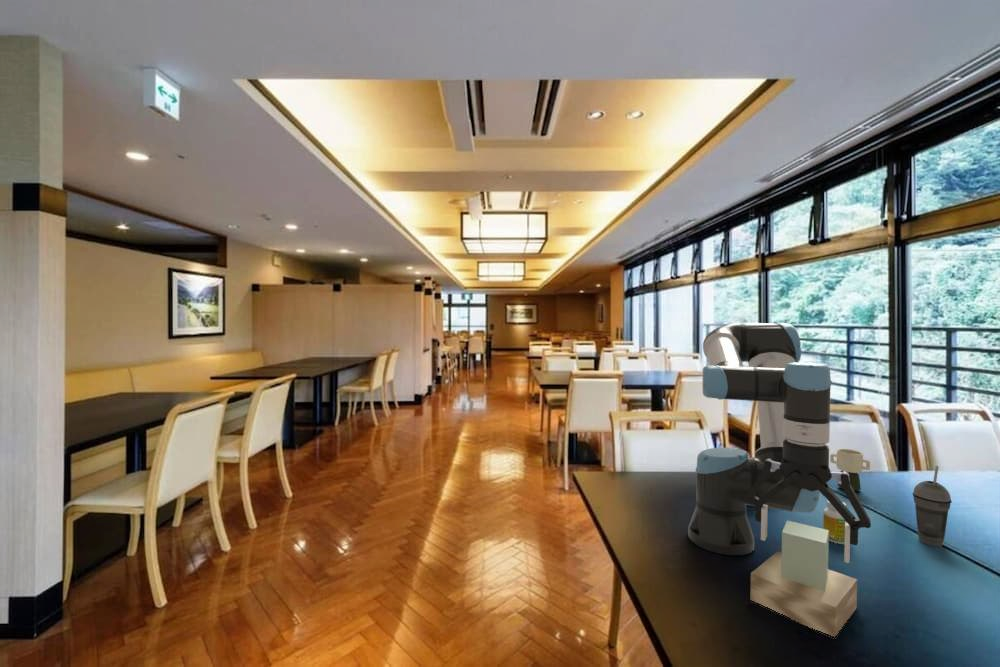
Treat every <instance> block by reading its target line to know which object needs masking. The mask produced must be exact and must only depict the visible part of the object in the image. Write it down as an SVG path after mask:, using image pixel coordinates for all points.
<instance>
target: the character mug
mask: <svg viewBox="0 0 1000 667" xmlns="http://www.w3.org/2000/svg"><path fill="white" fill-rule="evenodd" d="M834 458H836V460H834ZM829 463H832V464H836V467H837V469H838V470H840V472H842V471H847V472H848V473H849V479H850V484H851V486H852V488H853V489H854V491H855V492H856V491H861V489H862V488H861V480H860V475H859V474H860V473H862V472H863V471H864V470H867V471H870V470H871V461H870V460H869V459H864V453H863V452H862V451H859V450H855V449H847V448H838V449H837V450H836V453H829ZM864 463H865V465H866V466H864ZM837 486H838V487H839V488H840V489H842V490H843V488H842V484H838V483H837Z"/></svg>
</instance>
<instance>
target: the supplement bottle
mask: <svg viewBox="0 0 1000 667" xmlns="http://www.w3.org/2000/svg"><path fill="white" fill-rule="evenodd" d="M842 503H843V504H844V505H845V506H846V507H847V504H846V503H845V502H843V501H842ZM822 514H823V515H822V516H823V517H822V518H823V523H822V524H823V525H822V526H823V527H822V529H825V530H829V542H830V541H831V543H833V542H834V544H837V543H838V544H837V545H845V522H846V521H845V519H844V518H843V517H842V516H841V515H840V514H839V512H838V511H837V510H836V509H835V508H834V507H833V505H832V504H831V503H830V502H829V501H828V500H827V499H826V508H824V509H823V513H822ZM846 523H847V522H846Z"/></svg>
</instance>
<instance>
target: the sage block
mask: <svg viewBox="0 0 1000 667" xmlns="http://www.w3.org/2000/svg"><path fill="white" fill-rule="evenodd" d="M829 542H830V541H829V530H825V529H823V528H820V527H818V526H812V525H809V524H804V523H800V522H795V521H791V520H786V522H785V525H784V526H783V529H782V532H781V553H782V562H781V578H784V579H787V580H791V581H794V582H797V583H800V584H804V585H807V586H810V587H813V588H816V589H820V590H823V591H825V589H826V583H827V577H828V569H829Z"/></svg>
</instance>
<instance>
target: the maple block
mask: <svg viewBox="0 0 1000 667" xmlns="http://www.w3.org/2000/svg"><path fill="white" fill-rule="evenodd" d="M781 562H782V551H778V550H777V551H776V552H775V553H774V554H773V555H771V556H770V557H769V558H768V559H766V560H765V561H764V562H762V564H760V565H758V566H757V568H755V569H754V570H752V571H751V572H750V595H749V596H750V597H749V598H750V599H749V600H752V601H754V602H756V603H759V604H761V605H763V606H765V607H768V608H770V609H772V610H774V611H776V612H778V613H780V614H779V615H781V614H783V615H785V616H787V617H789V618H791V619H790V620H791V621H794V620H795V621H794V622H796V623H798V622H799V624H801V625H804V626H806V627H807V626H808V628H810V629H812V628H813V629H812V630H814V629H815V630H814V631H816V630H818V631H821V632H823V633H826V634H829V635H831V636H834V637H835V636H836V635H837V634H838V633H839V631H840V630H841V629H843V628H844V627H845V625H846V624H847V622H848V621H849V620H848V619H851V616H852V615H853V614H854V612H855V611H856V609H857V608H858V606H857V605H858V603H857V602H858V601H857V600H858V599H857V598H858V579H857V578H855V577H851V576H848V575H846V574H842V573H840V572H837V571H834V570H831V569H829V568H828V577H827V583H826V589H825V591H823V590H820V589H816V588H813V587H810V586H807V585H804V584H800V583H797V582H794V581H791V580H787V579H784V578H781ZM752 601H751V602H752ZM754 602H753V603H754ZM756 603H755V604H756ZM761 605H760V606H761ZM763 606H762V607H763ZM765 607H764V608H765ZM772 610H771V611H772ZM774 611H773V612H774ZM776 612H775V613H776ZM778 613H777V614H778ZM783 615H782V616H783ZM785 616H784V617H785ZM787 617H786V618H787ZM789 618H788V619H789ZM847 620H848V621H847ZM845 623H846V624H845ZM844 624H845V625H844ZM843 626H844V627H843ZM842 627H843V628H842ZM818 631H817V632H818ZM841 631H842V630H841ZM841 631H840V632H841ZM821 632H820V633H821ZM823 633H822V634H823ZM839 634H840V633H839ZM839 634H838V635H839ZM838 635H837V636H838Z"/></svg>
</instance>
